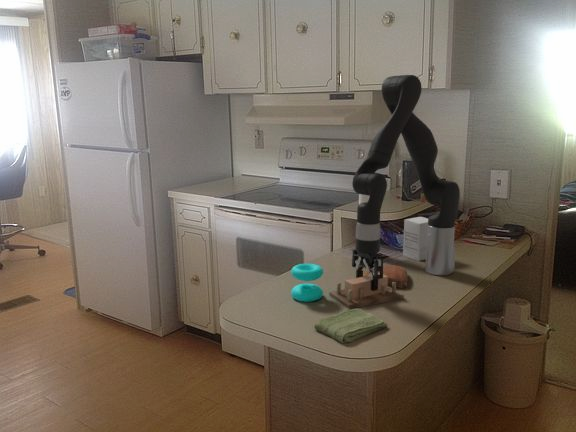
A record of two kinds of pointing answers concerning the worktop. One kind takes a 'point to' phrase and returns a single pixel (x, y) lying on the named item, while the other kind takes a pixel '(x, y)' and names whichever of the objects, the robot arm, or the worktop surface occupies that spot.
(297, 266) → the donuts
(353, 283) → the pinkish tan rectangular block
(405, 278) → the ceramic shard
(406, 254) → the supplement box
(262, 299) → the worktop surface
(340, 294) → the drying rack
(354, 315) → the washcloth
